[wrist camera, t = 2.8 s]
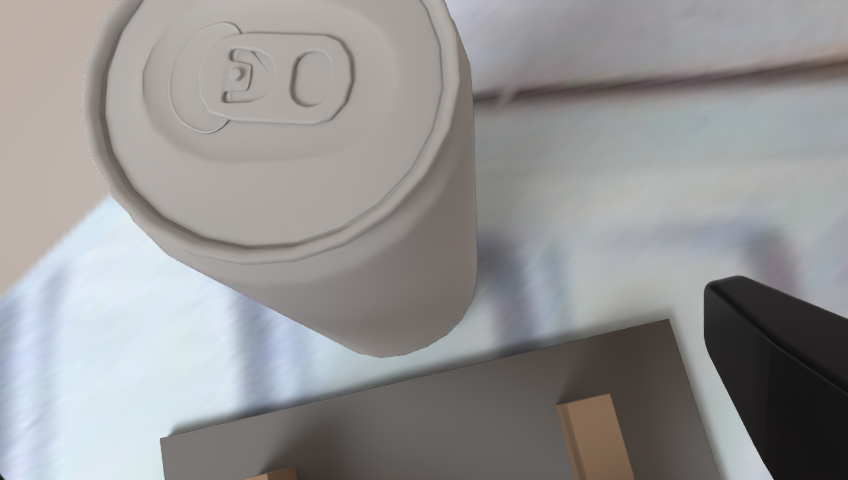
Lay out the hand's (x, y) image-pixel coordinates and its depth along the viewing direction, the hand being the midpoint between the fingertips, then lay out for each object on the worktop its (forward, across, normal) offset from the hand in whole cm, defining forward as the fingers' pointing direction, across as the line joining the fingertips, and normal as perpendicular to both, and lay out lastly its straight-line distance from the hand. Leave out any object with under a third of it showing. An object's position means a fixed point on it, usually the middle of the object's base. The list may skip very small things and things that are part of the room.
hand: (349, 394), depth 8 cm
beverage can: (+10, 0, +5) cm, 11 cm away
